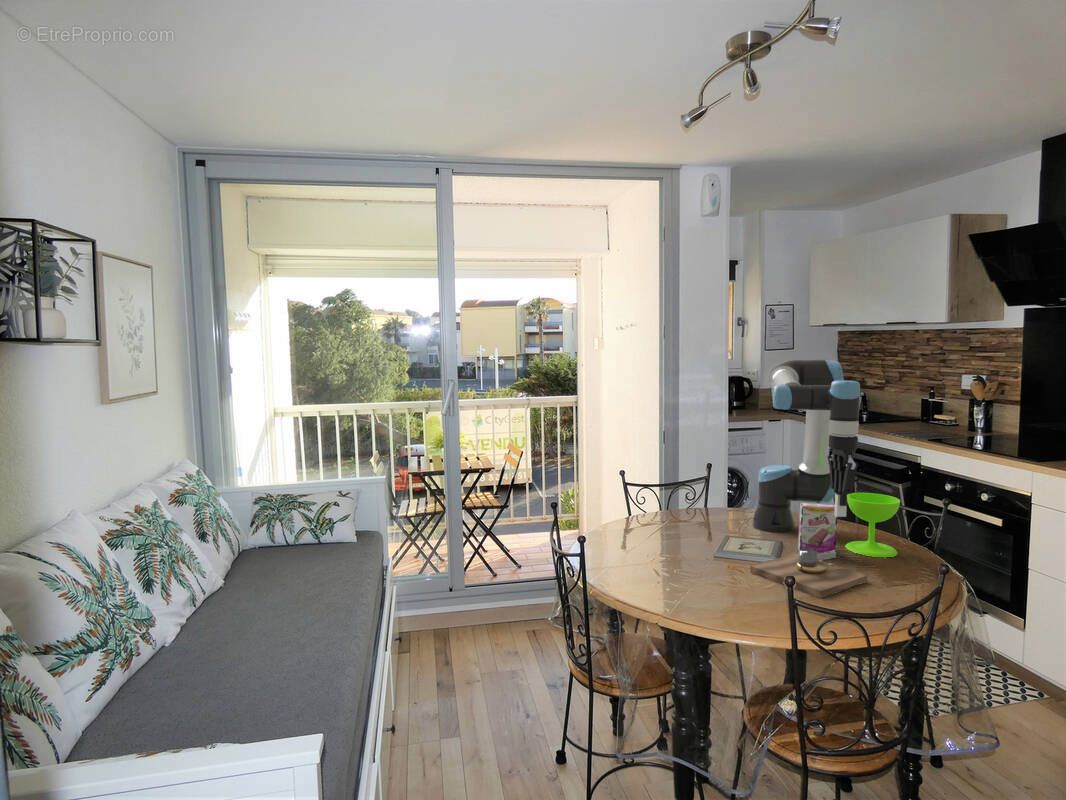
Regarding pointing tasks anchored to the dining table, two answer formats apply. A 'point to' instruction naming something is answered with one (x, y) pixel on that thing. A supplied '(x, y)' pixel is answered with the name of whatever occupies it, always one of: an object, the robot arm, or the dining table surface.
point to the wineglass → (872, 521)
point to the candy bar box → (817, 527)
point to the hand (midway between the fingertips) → (840, 515)
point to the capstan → (814, 560)
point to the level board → (809, 575)
